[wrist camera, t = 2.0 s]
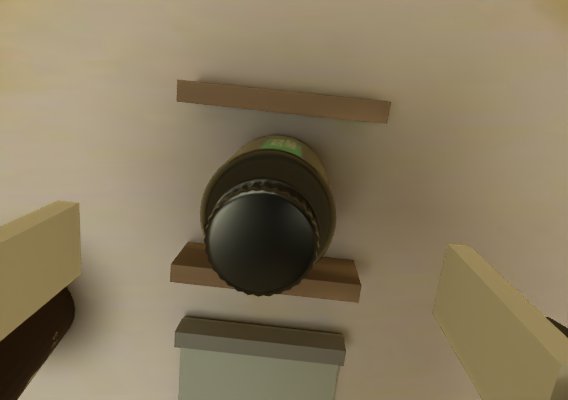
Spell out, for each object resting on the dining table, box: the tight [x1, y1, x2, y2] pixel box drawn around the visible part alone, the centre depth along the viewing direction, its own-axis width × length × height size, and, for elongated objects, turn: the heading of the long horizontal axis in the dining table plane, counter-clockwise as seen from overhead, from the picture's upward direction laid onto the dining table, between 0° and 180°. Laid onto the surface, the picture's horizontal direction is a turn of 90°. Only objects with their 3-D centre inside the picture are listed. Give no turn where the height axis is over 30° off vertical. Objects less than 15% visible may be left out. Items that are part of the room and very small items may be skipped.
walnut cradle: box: [170, 80, 391, 303], centre depth 27 cm, size 12×12×4 cm
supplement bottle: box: [200, 135, 336, 296], centre depth 23 cm, size 7×7×12 cm
